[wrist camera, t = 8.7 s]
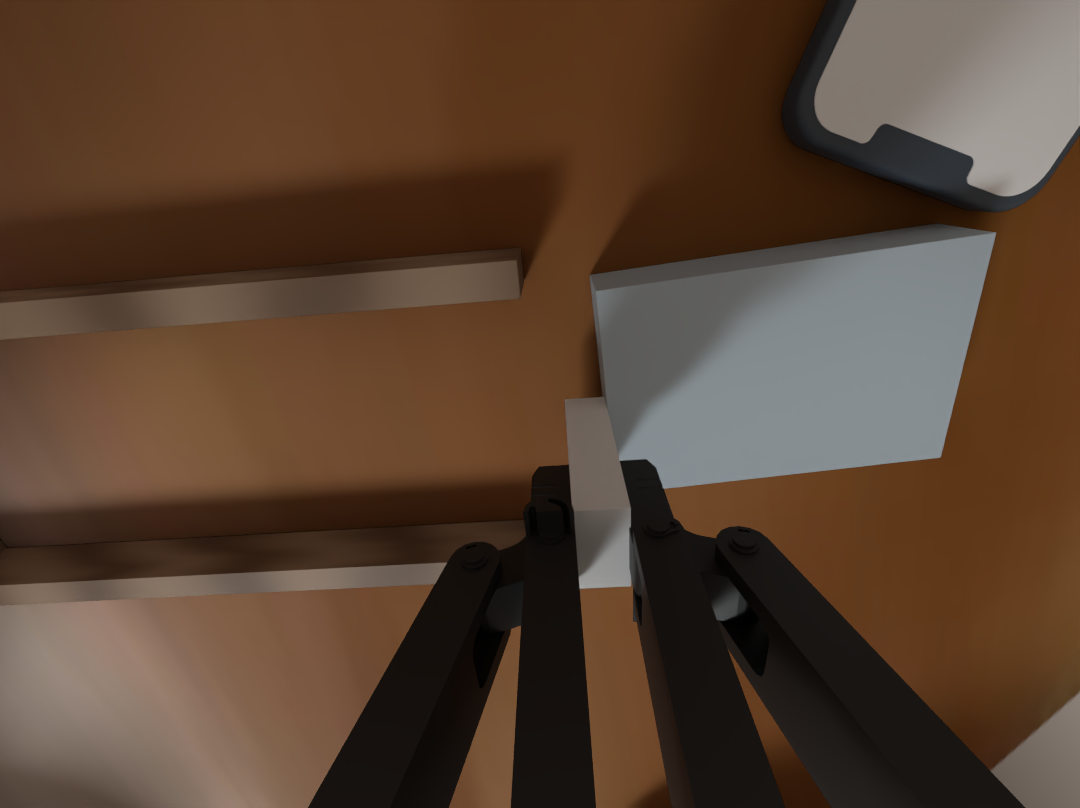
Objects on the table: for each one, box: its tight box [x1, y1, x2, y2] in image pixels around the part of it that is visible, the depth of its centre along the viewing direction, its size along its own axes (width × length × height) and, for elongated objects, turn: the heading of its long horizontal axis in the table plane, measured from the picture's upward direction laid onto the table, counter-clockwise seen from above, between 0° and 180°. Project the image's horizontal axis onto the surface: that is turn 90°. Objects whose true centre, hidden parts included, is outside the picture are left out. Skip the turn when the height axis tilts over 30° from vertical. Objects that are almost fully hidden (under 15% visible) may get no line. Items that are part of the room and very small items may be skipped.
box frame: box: [0, 248, 526, 605], centre depth 20 cm, size 28×13×2 cm, turn 95°
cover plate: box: [590, 224, 996, 489], centre depth 18 cm, size 12×8×3 cm, turn 99°
